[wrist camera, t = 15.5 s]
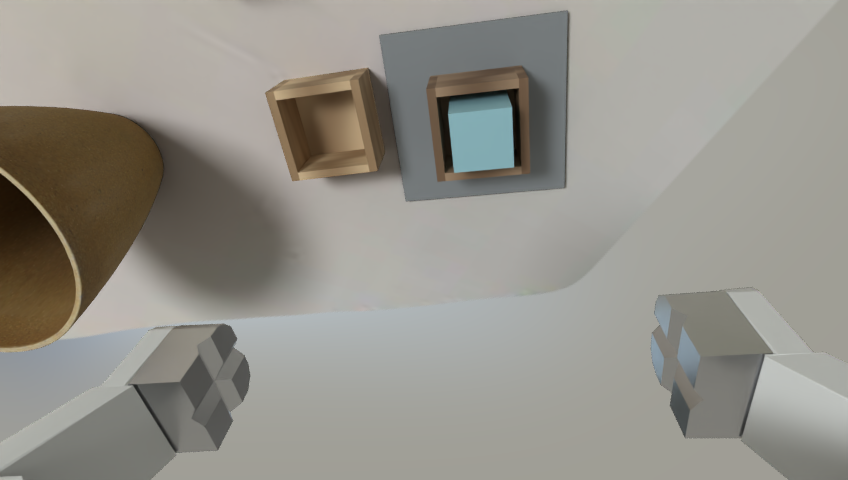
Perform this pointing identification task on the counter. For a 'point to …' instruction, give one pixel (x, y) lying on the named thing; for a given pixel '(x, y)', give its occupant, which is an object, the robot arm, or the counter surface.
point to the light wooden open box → (327, 124)
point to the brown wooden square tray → (478, 82)
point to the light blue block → (481, 131)
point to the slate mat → (470, 51)
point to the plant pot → (66, 213)
